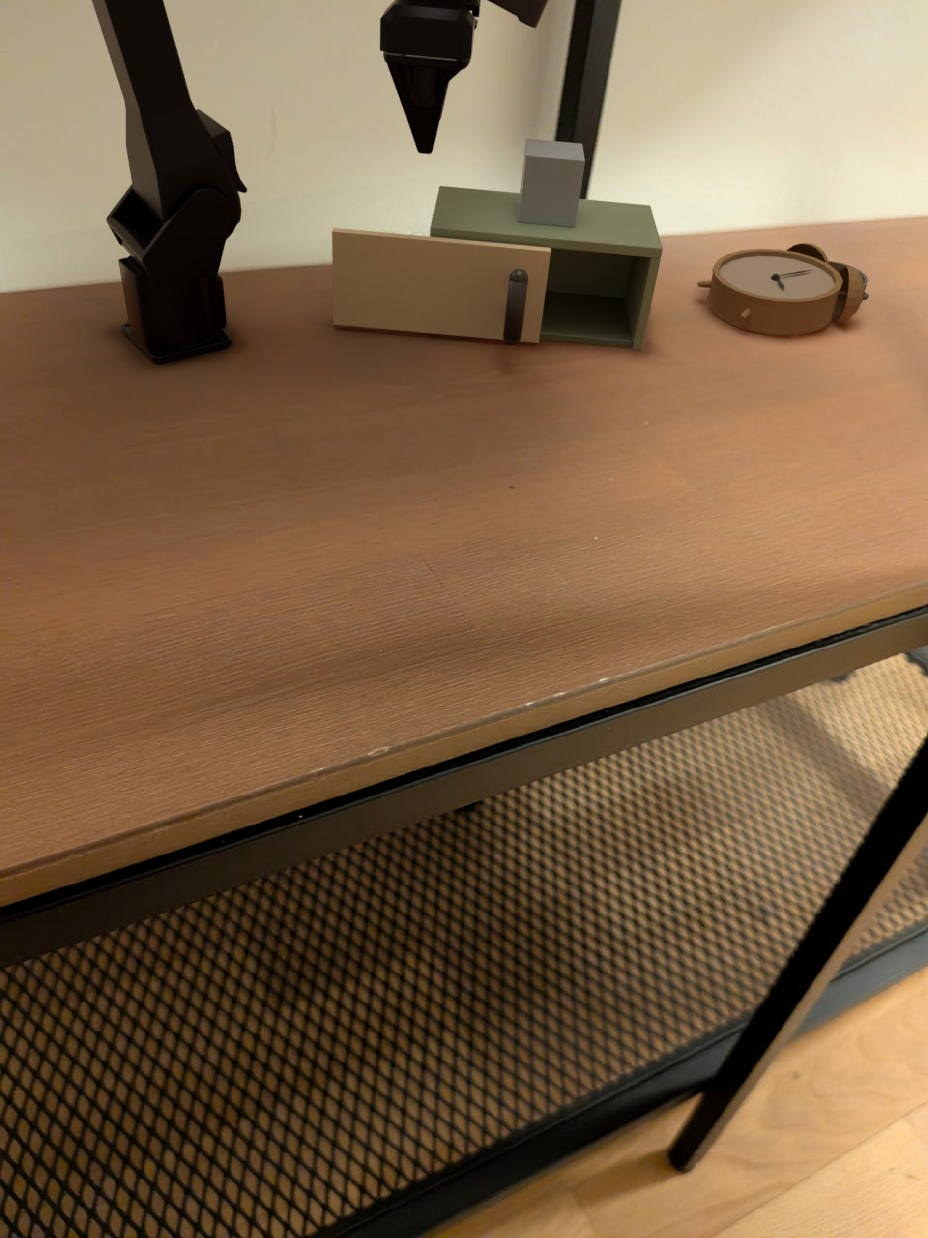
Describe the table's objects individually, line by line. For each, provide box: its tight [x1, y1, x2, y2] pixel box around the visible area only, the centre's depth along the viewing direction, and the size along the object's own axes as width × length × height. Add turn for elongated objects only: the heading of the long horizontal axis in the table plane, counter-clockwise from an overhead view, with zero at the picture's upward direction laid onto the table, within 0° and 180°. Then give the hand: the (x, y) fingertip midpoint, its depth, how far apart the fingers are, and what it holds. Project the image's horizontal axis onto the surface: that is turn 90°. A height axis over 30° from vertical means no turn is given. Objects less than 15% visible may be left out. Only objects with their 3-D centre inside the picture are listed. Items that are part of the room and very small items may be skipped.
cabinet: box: [429, 185, 664, 352], centre depth 80 cm, size 18×10×8 cm, turn 87°
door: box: [331, 227, 551, 347], centre depth 74 cm, size 17×6×8 cm, turn 87°
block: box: [519, 138, 586, 227], centre depth 76 cm, size 4×4×5 cm
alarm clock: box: [697, 242, 870, 336], centre depth 87 cm, size 11×5×15 cm
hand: (429, 135), depth 76 cm, fingers open, 9 cm apart
